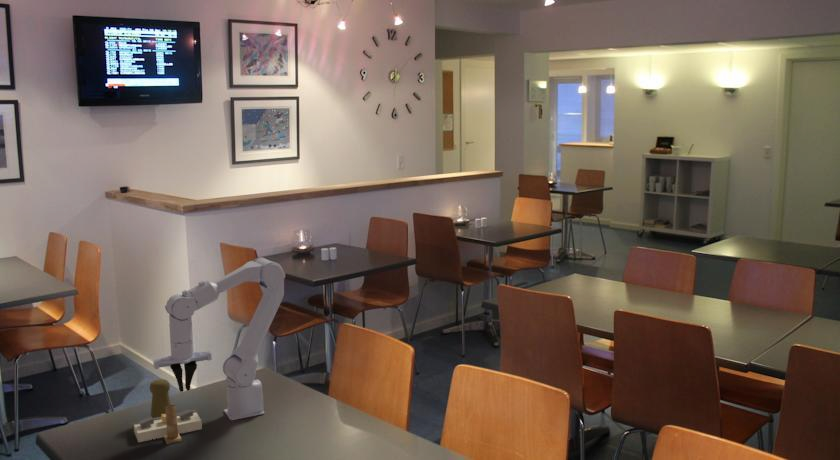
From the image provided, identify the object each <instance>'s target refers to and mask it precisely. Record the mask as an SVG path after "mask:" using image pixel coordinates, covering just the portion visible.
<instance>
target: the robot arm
mask: <svg viewBox="0 0 840 460" xmlns="http://www.w3.org/2000/svg"><path fill="white" fill-rule="evenodd" d="M285 278H286V273H285V271H284V268H283V267H282V266H281V264H280V263H278V262H275V261H272V260H269V259H267V258H265V257H261V256H260V257H257V258H254V260H250V261H248V262H246V263H245V264H243V265H242V266H240V267H238V268H237V269H235V270H233V271H231V272H229V273H228V274H225V276H222V277H221V278H220V279H218V280H216V281H214V282H213V281H209V280H205V281H204V280H201V281H199V282H198V285H196V286H194V287H192V288H191V289H188V290H186V289H184V290H182V291H181V294H173V295H171V296H170V297H169V299H168V300H167V301H166V305H164V309H165V311H166V313H167V314H169V315H168V319H169V324H168V325H169V339H170V355H169V356H166V357H165V356H164V357H162V358H158V359H153V362H152V363H153V368H154V370H158V369H161V368H165V367H170V369H171V371H172V372H173V375H174V377H175V379H176V382H177V385H178V391H179V392H180V393H181V392H184V386H185V389H186V391H190V390H191V384H192V380H193V377H194V374H195V372H196V370H197V367H198V365H197V362H203V361H212V360H213V359H212V352H211V351H200V352H198V351H197V352H195V351H194V349H195V348H194V333H193V332H194V331H193V322H192V321H193V320H192V319H193V318H192V317H193V315H194V314H195V312H196V311H198V310H200V309H203V308H204V307H206V306H208V305H209V304H212V303H214V302H216V301H217V300H218V299H219V296H220V294H221V293H224V292H226V291H228V290H230V289H232V288H235V287H237V286H239V285H241V284H243V283H246V282H250V283H251V282H252V283H258V285H259V287H260V290H261V292H262V297H261V299H260V301H259V303H258V305H257V308H256V309H255V311H254V314H253V316H252V318H251V320H250V322H249V324H248V327H247V329H246V331H245V333H244V335H243V338H241V339H242V340H241V341H240V344H239V345H238V346H237V347H235V348H234V349H233V350H232V352H231V354H230V356H228V357H227V358H226V359H225V360H224V362H223V364H222V373H224V375H225V376H226V377H227V379H226V383H225V384H226V397H227V398H226V399H227V400H226V401H227V408H225V409H223V412H224V413H225V415H226V416H227V417H228V419H229V420H230V421H237V420H240V419H246V418H250V417H255V416H259V415H260V416H261V415H264V414H265V409H264V392H263V386H262V382H261V381H260V379H255V378H256V376H257V367H258V365H259V358H258V356H259V355H258V353H259V352H260V349H261V346H262V344H263V342H264V340H265V338H266V335H267V334H268V332H269V329H270V326H271V325H272V323H273V320H274V319H275V316H276V314H277V312H278V309H279V308H280V306H281V303H282V301H283V298H284V296H285ZM182 365H184V366H183V367H184V369H183V368H182ZM183 370H184V374H185V375H184V376H185V378H184V379H185V382H183ZM184 384H185V385H184Z"/></svg>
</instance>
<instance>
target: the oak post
mask: <svg viewBox="0 0 840 460" xmlns="http://www.w3.org/2000/svg"><path fill="white" fill-rule="evenodd" d="M165 409H166V424H167V436H164V437H163V438H164V440H165V441H164V442H165V443H166V445H171V444H175V443H179V442H182V437H181V435H180V434H179V433H178V427H177V413H178V412H177V405H176V404H171V405H168V406H166V407H165Z"/></svg>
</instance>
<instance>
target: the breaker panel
mask: <svg viewBox="0 0 840 460" xmlns="http://www.w3.org/2000/svg"><path fill="white" fill-rule="evenodd" d="M192 412H193V416H191V417H188V418H186V419H183V420H181V419H180V417H179V413H180V412H177V427H178V433H179V435H180V434H185V433H189V432H195V431H199V430H202V429H203V425H202V424H203V423H202V418H201V417H200V416H199V414H198V412H197V410H196V409H194V410H192ZM139 421H140V420H138V421H134V422H133V432H134V433H133V434H134V435H135V438H136V441H137V443H143V442H147V441H152V439H153V440H157V439H161V438H164V436H167V424H166V422H162V420H161V417H157V418H153V421H154V424H151V425H149V426H146V427H144V428H141V426H140V423H139ZM156 438H157V439H156Z"/></svg>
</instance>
